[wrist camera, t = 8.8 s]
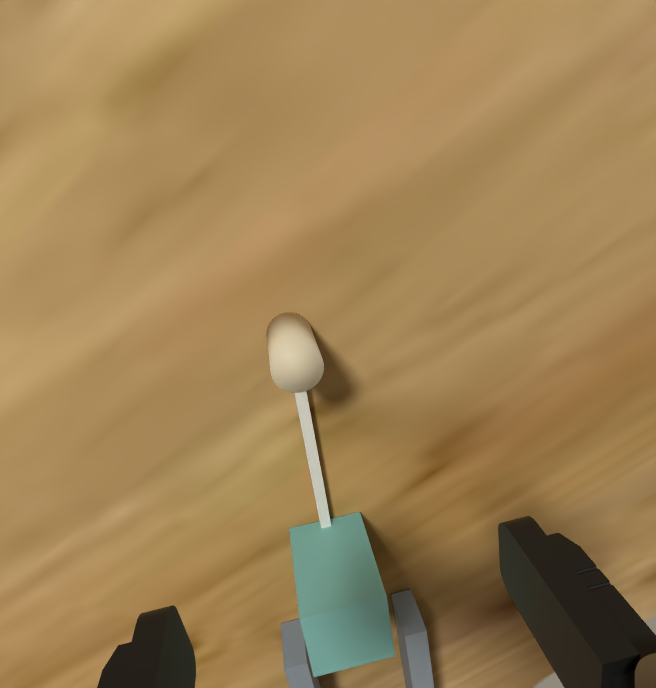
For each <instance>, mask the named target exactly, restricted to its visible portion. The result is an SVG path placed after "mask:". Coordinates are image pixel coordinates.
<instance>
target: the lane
mask: <svg viewBox="0 0 656 688" xmlns="http://www.w3.org/2000/svg"><path fill="white" fill-rule="evenodd" d="M391 598H392V604H393V610H394V616H395V622H396V628H397V634H398V640H399V646H400V652H401V658H402V664H403V670H404V677H405V683H406V688H434V683H433V675H432V668H431V660H430V652H429V645H428V637H427V630H426V627H425V625H424V622H423V619H422V617H421V614H420V612H419V609H418V606H417V604H416V601H415V598H414V596H413V593H412V590H411V589H409V590H405V591H402V592H398V593H394V594H391ZM281 630H282V644H283V658H284V670H285V673H286V677H287V680H288V683H289V686H290V688H321V687H320V683H319V679H318V676H317V677H314V676H313V672H312V668H311V664H310V660H309V656H308V652H307V648H306V643H305V639H304V635H303V631H302V627H301V623H300V619H296V620H293V621H289V622H285V623H281Z"/></svg>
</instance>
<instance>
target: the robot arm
mask: <svg viewBox="0 0 656 688" xmlns="http://www.w3.org/2000/svg"><path fill="white" fill-rule="evenodd" d="M498 533H499V555H500V570H501V575H502V578H503V581H504V584H505V587H506V589H507V591H508V593H509V595H510V597H511V599H512V600H513V602H514V604H515V605H516V607H517V609H518V610H519V612H520V614H521V615H522V617H523V619H524V620H525V622H526V624H527V625H528V627H529V629H530V630H531V632H532V634H533V635H534V637H535V639H536V641H537V642H538V644H539V646H540V647H541V649H542V651H543V652H544V654H545V656H546V657H547V659H548V661H549V662H550V664H551V666H552V667H553V669H554V671H555V672H556V674H557V676H558V677H559V679H560V681H561V683H562V684H563V686H564V687H565V688H656V635H655V634H654V633H653V632H652V630H650V628H649V627H648V626H647V625H646V623H645V622H644V621H643V620H642V619H641V618H640V616H639V615H638V614H637V613H636V612H635V610H634V609H633V608H632V607H631V606H630V605H629V603H628V602H627V601H626V600H625V599H624V598H623V596H622V595H621V594H620V593H619V592H618V591H617V589H616V588H615V587H614V586H613V585H611V584H610V582H609V580H608V579H607V578H606V577H605V575H604V574H603V573H602V572H601V571H600V569H597V567H596V565H595V564H594V562H593V561H592V560H591V559H590V558H589V557H588V555H587V554H586V553H585V552H584V551H583V550H582V548H581V547H580V546H578V545H577V544H575V543H574V542H572V541H570V540H569V539H567V538H566V537H564V536H563V535H561V534H559V533H556V534H552V535H548V536H547V535H546V534H545V533H544V532H543V530H542V529H541V528H540V527H539V525H538V524H537V523H536V521H535V520H534V519H533V518H531V517H530V516H526V517H523V518H519V519H515V520H511V521H507V522H503V523H500V524H499V527H498ZM195 678H196V663H195V655H194V651H193V647H192V645H191V642H190V640H189V637H188V635H187V632H186V630H185V628H184V625H183V623H182V620H181V618H180V616H179V613H178V611H177V609H176V607H175V606H169V607H165V608H161V609H157V610H153V611H149V612H145V613H142V614H140V615H139V617H138V619H137V623H136V626H135V630H134V634H133V638H132V642H130V643H126V644H122V645H118V647H117V648H116V650H115V651H114V653H113V655H112V656H111V658H110V659H109V661H108V662H107V664H106V666H105V667H104V669H103V670H102V674H101V677H100V680H99V684H98V687H97V688H195Z"/></svg>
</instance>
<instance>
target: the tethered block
mask: <svg viewBox="0 0 656 688" xmlns="http://www.w3.org/2000/svg"><path fill="white" fill-rule="evenodd" d="M267 343H268V352H269V361H270V371H271V376H272V379H273V381H274V382H275V383H276V385H277V386H278V387H280V388H281V389H283V390H285V391H287V392H291V393H295V397H296V402H297V407H298V412H299V417H300V422H301V428H302V433H303V438H304V443H305V448H306V453H307V458H308V463H309V468H310V473H311V478H312V483H313V489H314V494H315V499H316V504H317V509H318V514H319V519H320V521H319V522H314V523H310V524H306V525H301V526H297V527H293V528H289V530H290V538H291V547H292V556H293V565H294V574H295V583H296V592H297V601H298V610H299V618H300V623H301V627H302V631H303V635H304V639H305V643H306V648H307V652H308V656H309V660H310V664H311V668H312V672H313V676H314V677H317V676H321V675H325V674H329V673H332V672H336V671H340V670H344V669H348V668H352V667H355V666H359V665H363V664H367V663H371V662H375V661H378V660H382V659H386V658H390V657H394V656H395V652H394V645H393V637H392V630H391V623H390V616H389V608H388V601H387V596H386V593H385V589H384V586H383V583H382V580H381V577H380V574H379V571H378V567H377V564H376V561H375V558H374V555H373V552H372V548H371V545H370V542H369V539H368V536H367V533H366V530H365V526H364V523H363V520H362V517H361V514H360V512H358V513H353V514H349V515H345V516H340V517H336V518H332V519H330V516H329V510H328V505H327V500H326V494H325V489H324V483H323V478H322V473H321V467H320V462H319V456H318V451H317V446H316V440H315V435H314V430H313V424H312V419H311V413H310V408H309V403H308V397H307V392H306V391H308V390H310V389H312V388H313V387H314V386H316V385H317V384H318V382H319V381H320V380H321V378H322V375H323V372H324V362H323V359H322V356H321V354H320V351H319V348H318V346H317V343H316V340H315V338H314V335H313V332H312V330H311V327H310V324H309V323H308V321H307V320H306V319H305V318H304V317H303V316H301V315H299V314H297V313H283V314H280V315H278V316H276V317H275V318H274V319H273V320H272V321H271V322H270V324H269V326H268V329H267Z"/></svg>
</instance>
